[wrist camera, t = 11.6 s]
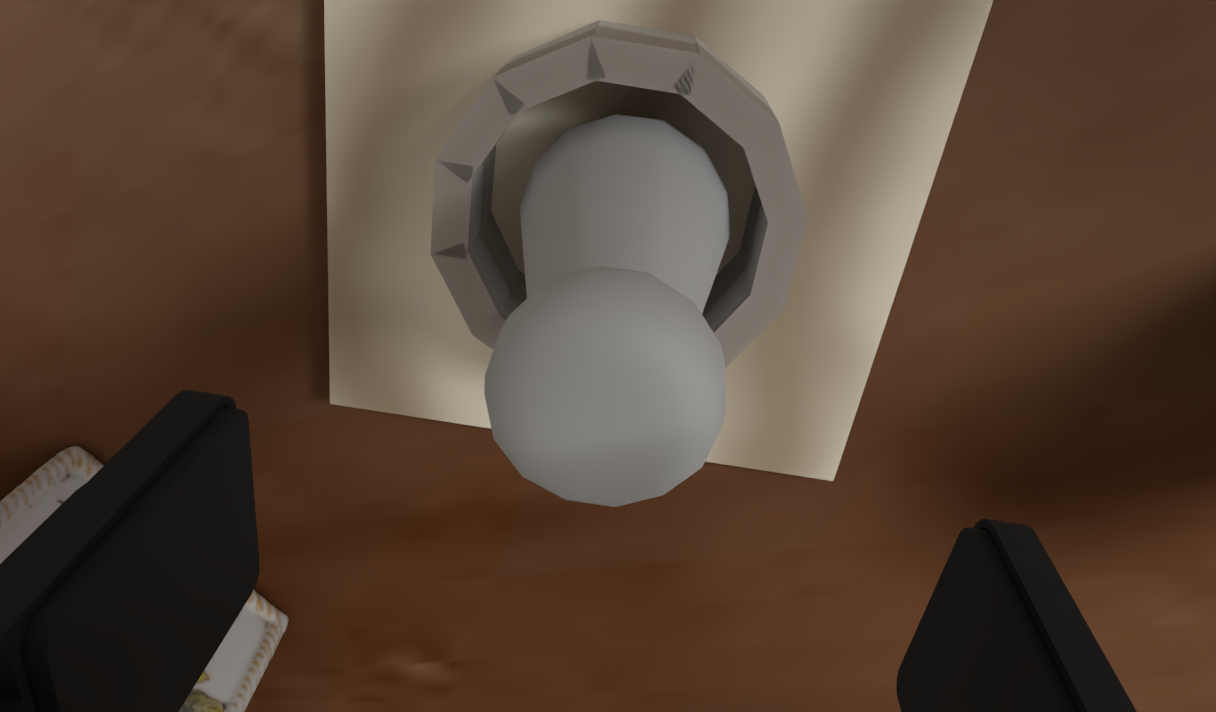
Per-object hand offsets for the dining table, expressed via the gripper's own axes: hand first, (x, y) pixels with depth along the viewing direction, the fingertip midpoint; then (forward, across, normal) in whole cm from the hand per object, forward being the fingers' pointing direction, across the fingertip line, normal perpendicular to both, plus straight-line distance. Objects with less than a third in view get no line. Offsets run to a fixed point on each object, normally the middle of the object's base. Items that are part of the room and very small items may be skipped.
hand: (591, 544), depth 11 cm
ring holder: (+17, +1, 0) cm, 17 cm away
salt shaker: (+16, 0, 0) cm, 16 cm away
